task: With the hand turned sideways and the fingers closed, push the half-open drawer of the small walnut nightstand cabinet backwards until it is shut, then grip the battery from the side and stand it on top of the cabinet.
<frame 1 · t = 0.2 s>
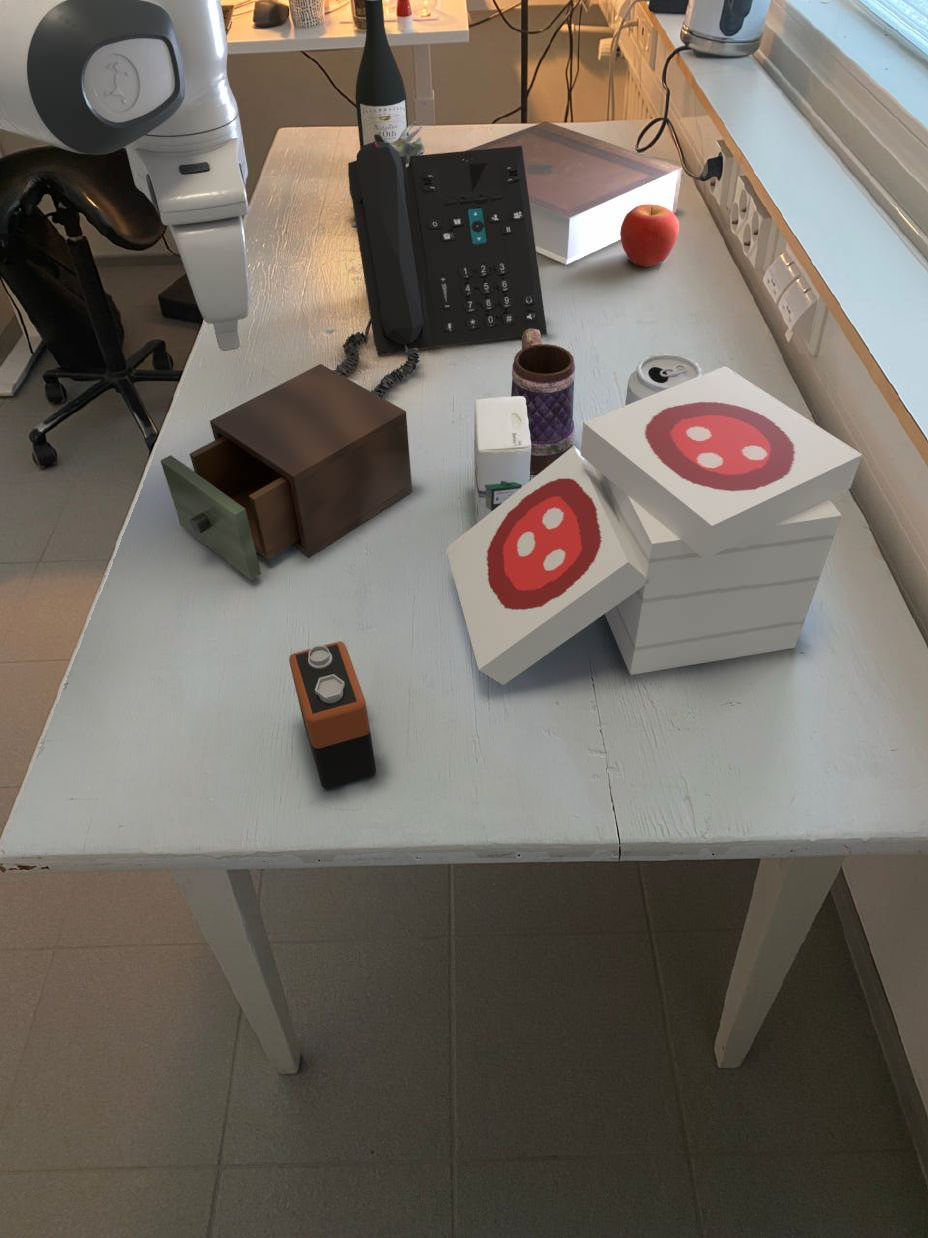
hand: (220, 319, 82), 20 cm above the table, tool pointing down, fingers open, 8 cm apart
drawer: (255, 492, 89), point 5 cm above the table, slide at 5.0 cm
book: (554, 210, 144), on the table
battery: (340, 753, 74), on the table
mug: (536, 448, 101), on the table
wine bottle: (386, 173, 155), on the table
ink box: (500, 520, 93), on the table
apple: (645, 263, 131), on the table
pizza boxes: (626, 613, 84), on the table
can: (653, 470, 98), on the table
toy dinosaur: (373, 220, 143), on the table
cabinet: (321, 496, 96), on the table
office phone: (428, 340, 118), on the table
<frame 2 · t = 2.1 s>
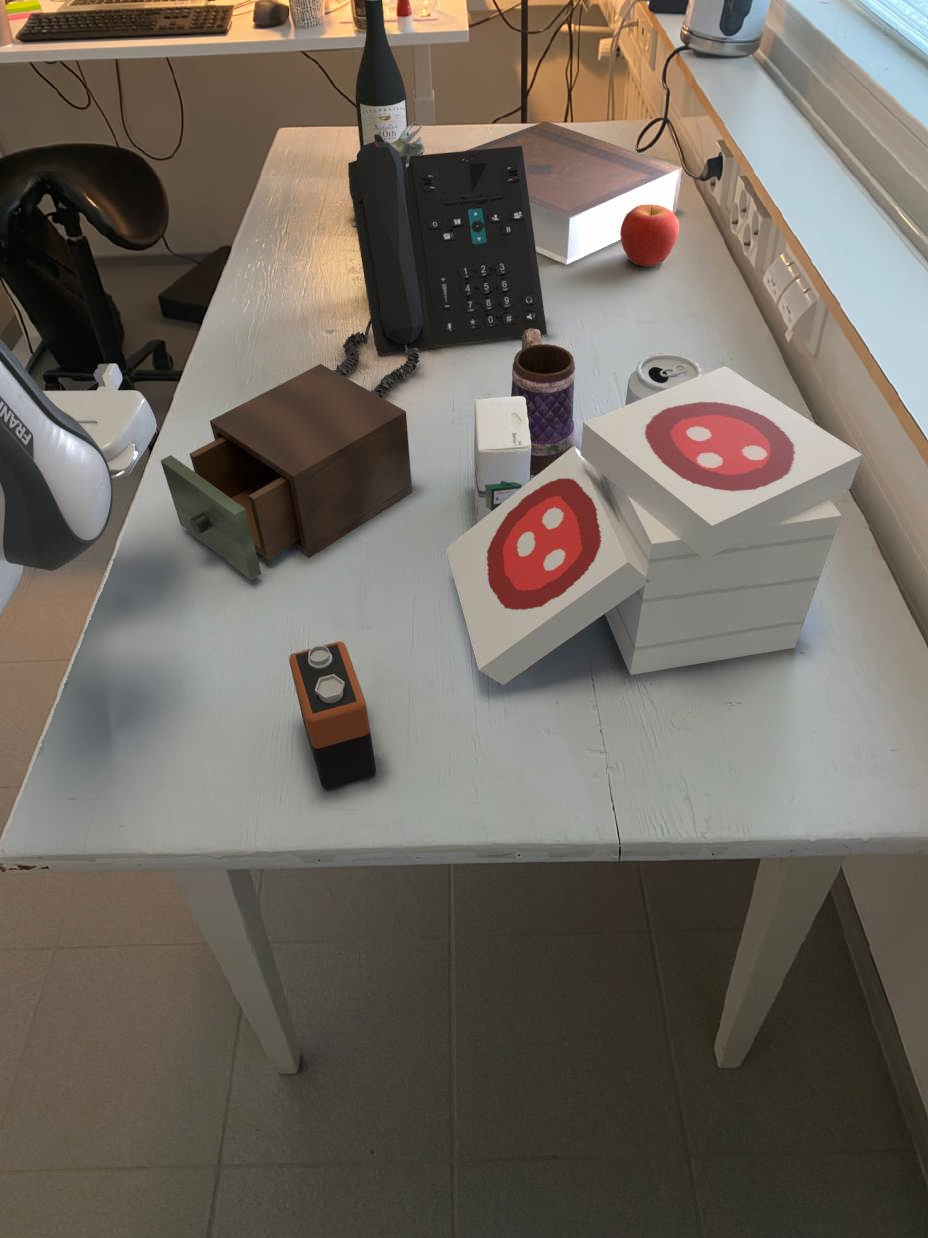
hand: (60, 369, 81), 17 cm above the table, tool horizontal, fingers open, 8 cm apart
nothing on the table moved.
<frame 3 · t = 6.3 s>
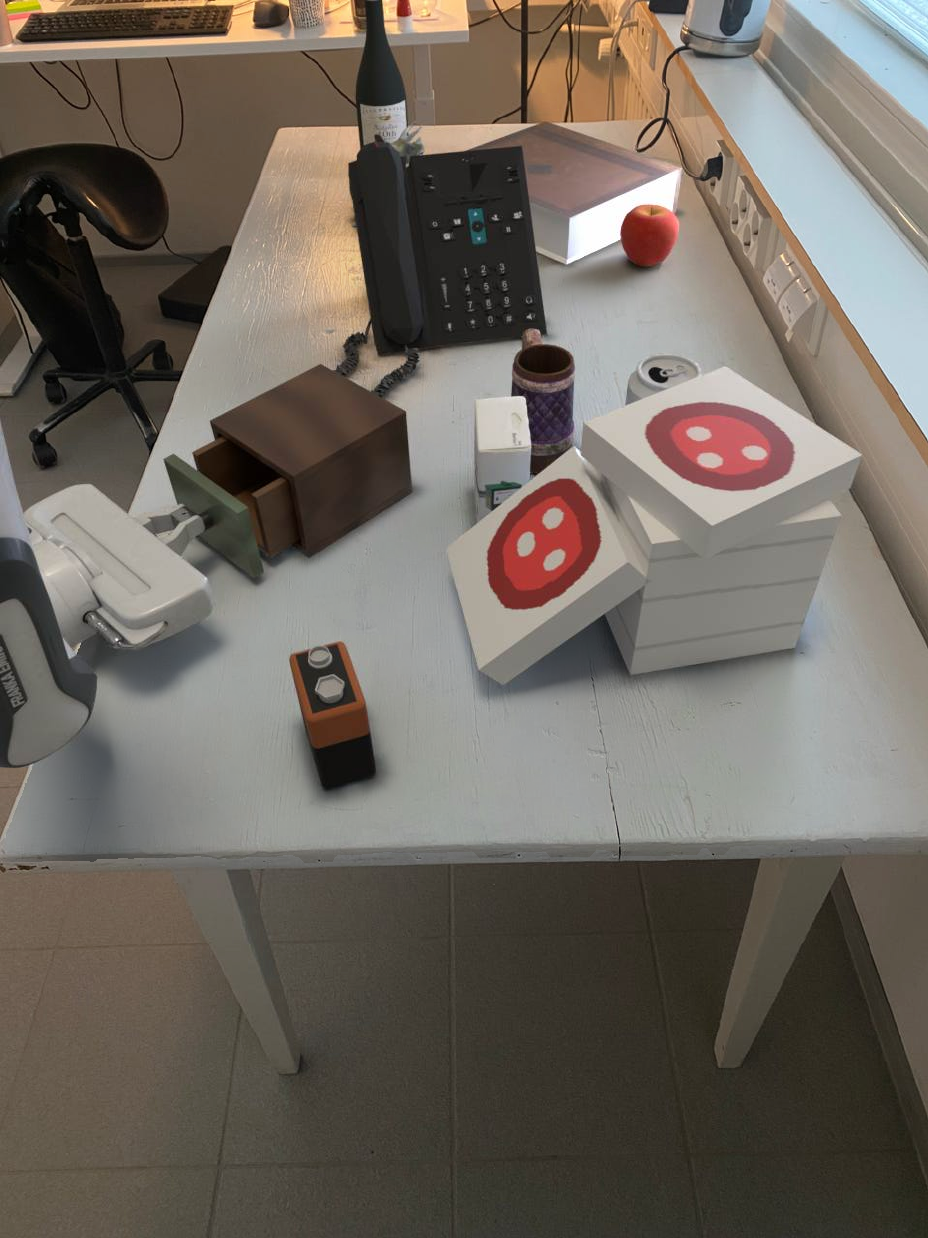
hand: (194, 516, 85), 6 cm above the table, tool horizontal, fingers closed, pressing on drawer
drawer: (257, 490, 89), point 5 cm above the table, slide at 4.7 cm, touching gripper
everything else where it was.
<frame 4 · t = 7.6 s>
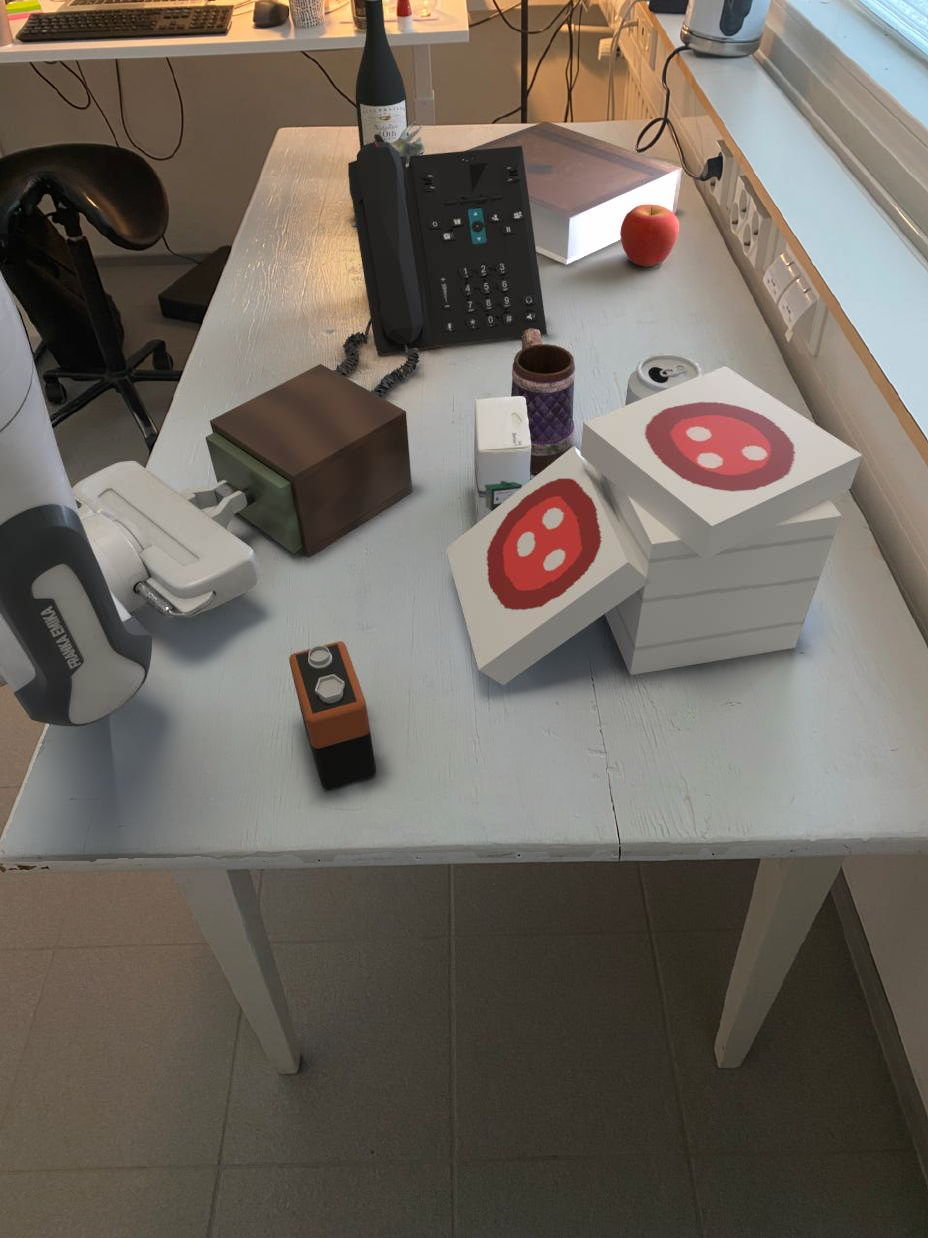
hand: (237, 491, 87), 6 cm above the table, tool horizontal, fingers closed, pressing on drawer
drawer: (296, 468, 91), point 5 cm above the table, slide at 0.0 cm, touching cabinet, gripper
everything else where it was.
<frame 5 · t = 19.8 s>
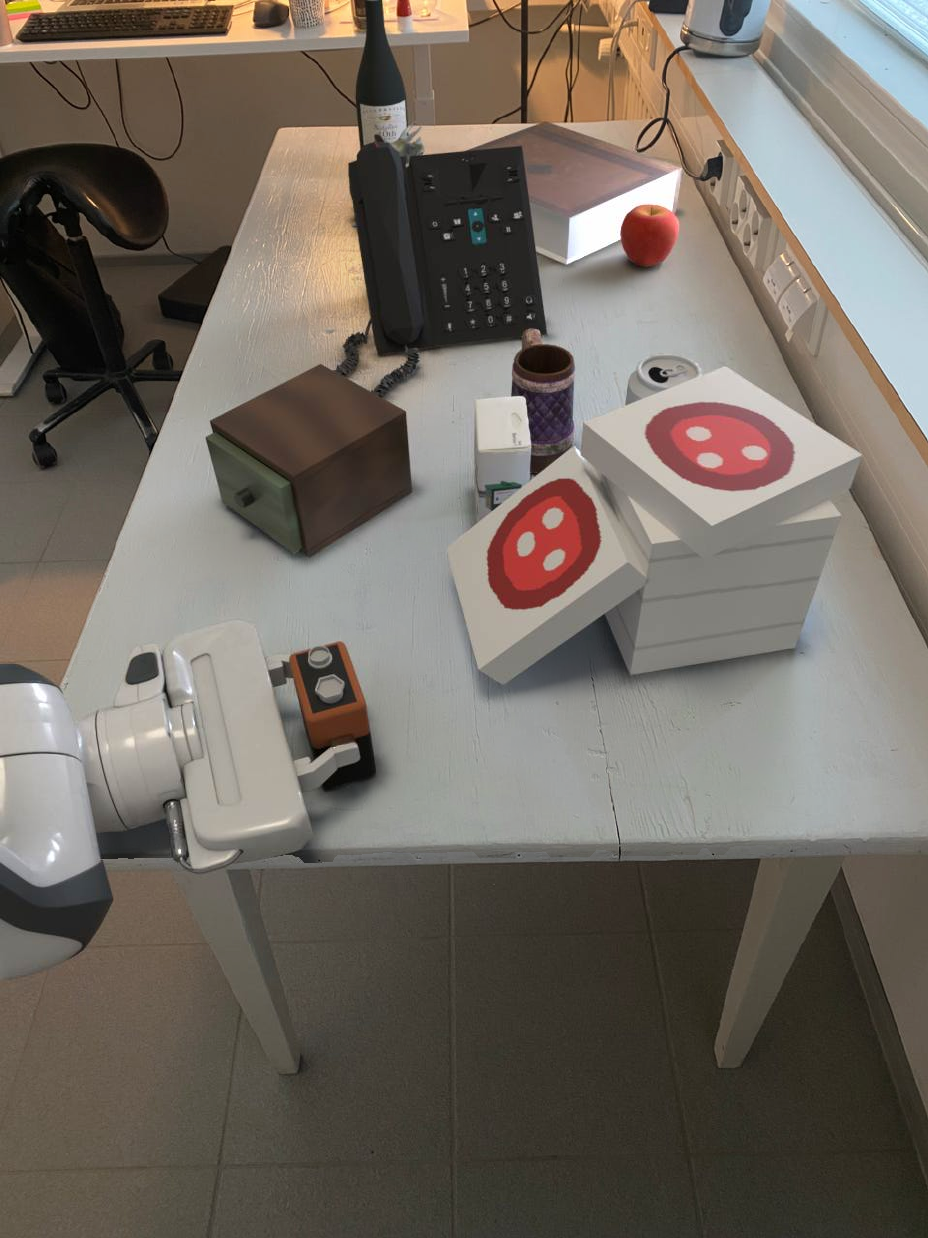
hand: (343, 704, 70), 6 cm above the table, tool horizontal, fingers closed on battery, 7 cm apart
drawer: (296, 468, 91), point 5 cm above the table, slide at 0.0 cm, touching cabinet
battery: (340, 753, 74), on the table, touching gripper
everything else where it was.
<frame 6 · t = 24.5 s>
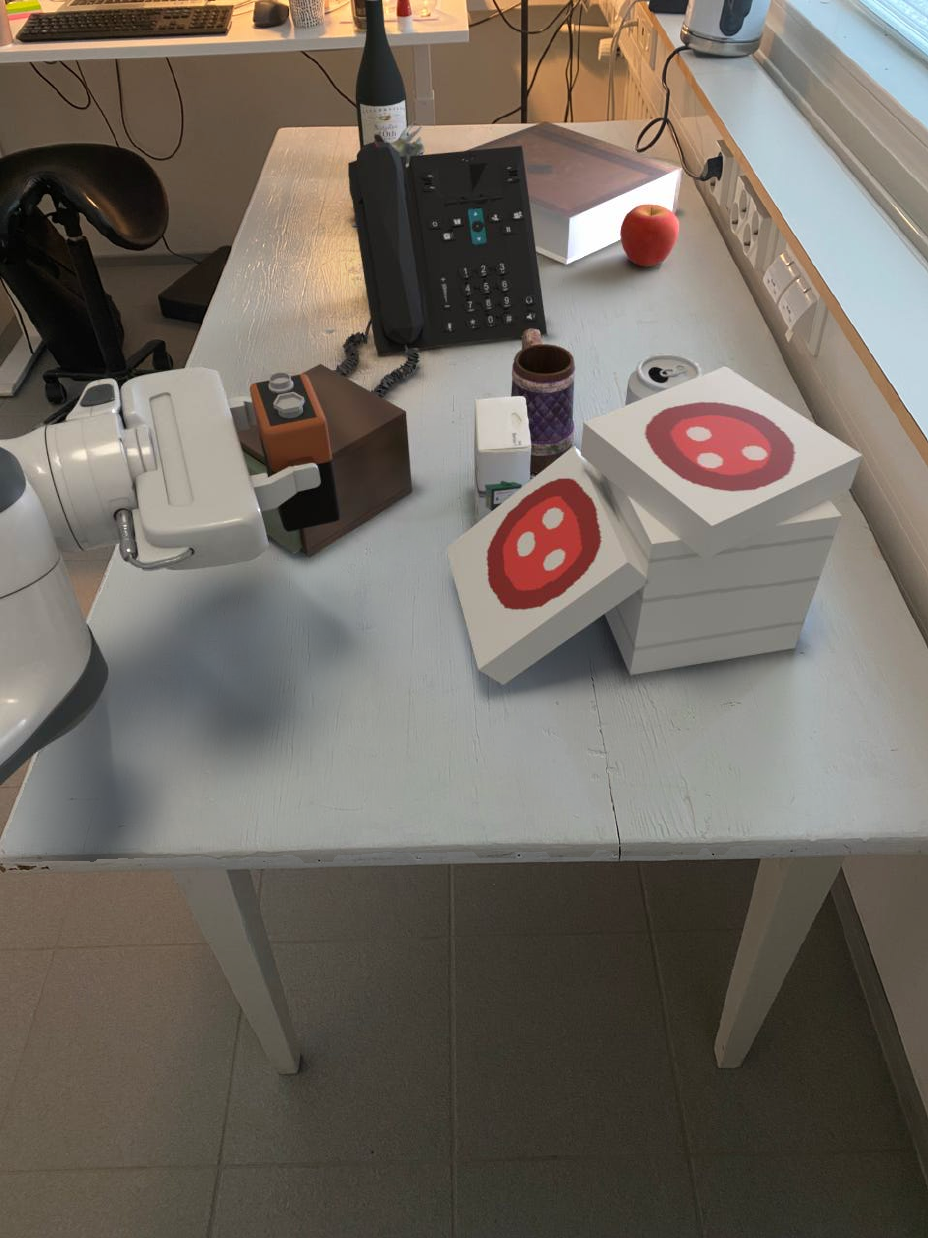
hand: (305, 438, 68), 21 cm above the table, tool horizontal, fingers closed on battery, 7 cm apart
battery: (305, 504, 72), point 15 cm above the table, touching gripper
everything else where it was.
when the fingers open (15 cm above the table, at t = 29.3 s): battery stays where it is, resting on cabinet.
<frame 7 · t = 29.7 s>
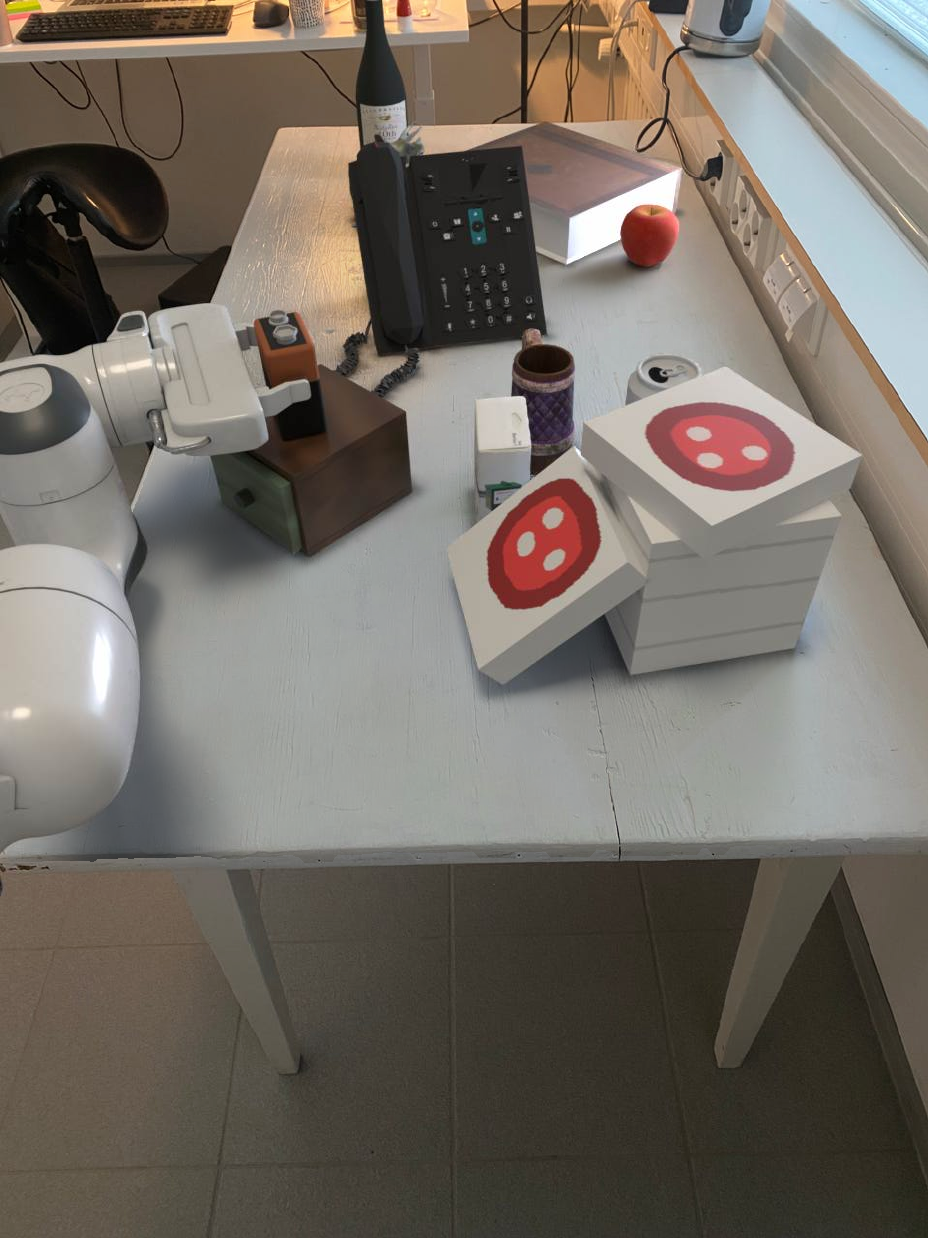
hand: (297, 359, 85), 16 cm above the table, tool horizontal, fingers open, 8 cm apart
battery: (298, 420, 89), point 10 cm above the table, touching cabinet
everything else where it was.
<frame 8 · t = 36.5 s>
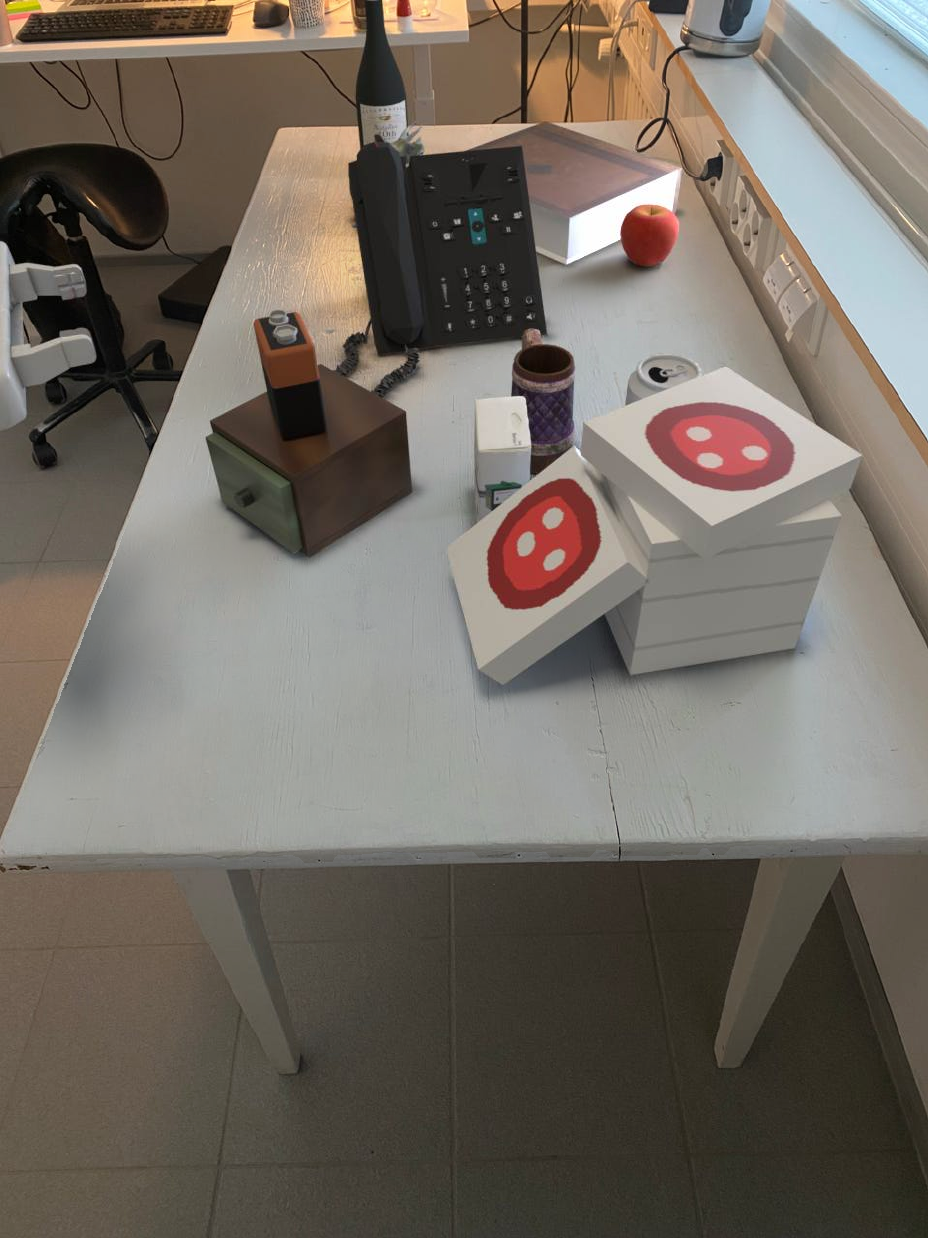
hand: (88, 310, 63), 30 cm above the table, tool horizontal, fingers open, 8 cm apart
nothing on the table moved.
at the end: drawer slide at 0.0 cm; battery inside the target area on the cabinet (1.0 cm from its centre), point 9.6 cm above the cabinet's base; battery tilted 0° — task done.
